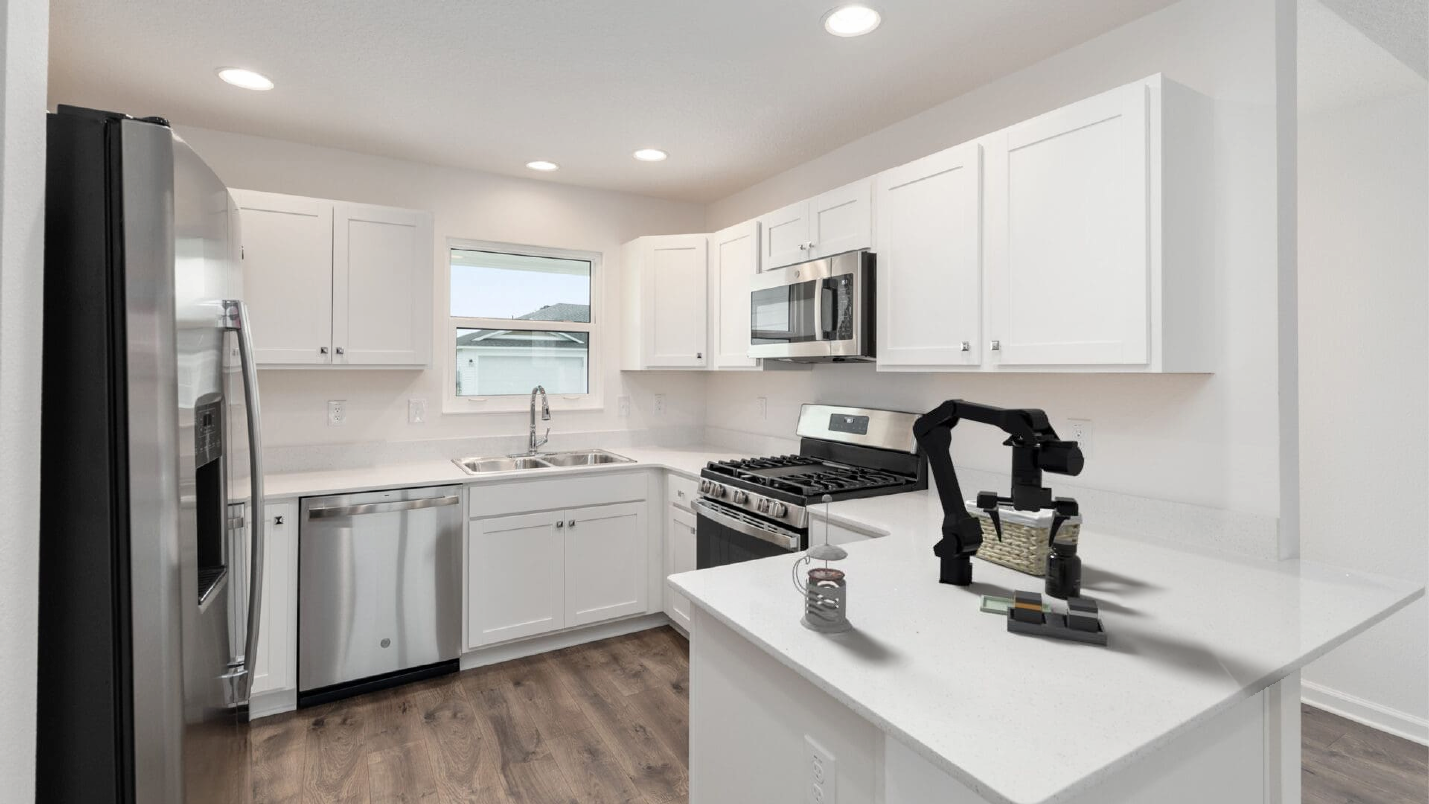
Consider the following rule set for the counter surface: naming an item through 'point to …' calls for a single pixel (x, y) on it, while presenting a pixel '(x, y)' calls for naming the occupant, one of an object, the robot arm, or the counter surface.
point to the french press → (825, 589)
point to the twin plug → (1082, 614)
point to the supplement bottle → (1063, 570)
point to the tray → (1002, 604)
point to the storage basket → (1021, 537)
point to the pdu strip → (1056, 628)
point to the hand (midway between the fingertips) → (1024, 544)
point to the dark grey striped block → (1028, 606)
